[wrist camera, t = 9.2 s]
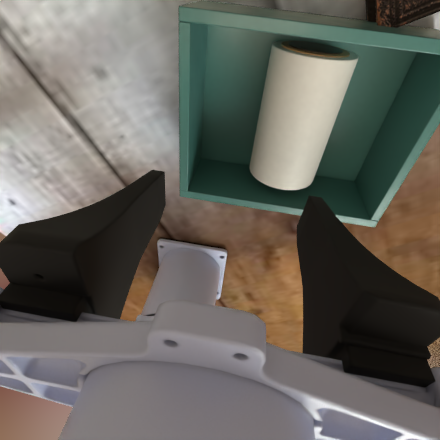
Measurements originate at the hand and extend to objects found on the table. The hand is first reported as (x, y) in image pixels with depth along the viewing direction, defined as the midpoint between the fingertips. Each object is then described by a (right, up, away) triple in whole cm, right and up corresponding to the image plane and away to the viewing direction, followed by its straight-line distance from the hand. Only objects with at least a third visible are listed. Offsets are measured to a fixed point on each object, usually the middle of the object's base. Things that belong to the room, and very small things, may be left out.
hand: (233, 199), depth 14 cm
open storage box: (+5, +7, +7) cm, 11 cm away
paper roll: (+7, +5, +4) cm, 9 cm away
